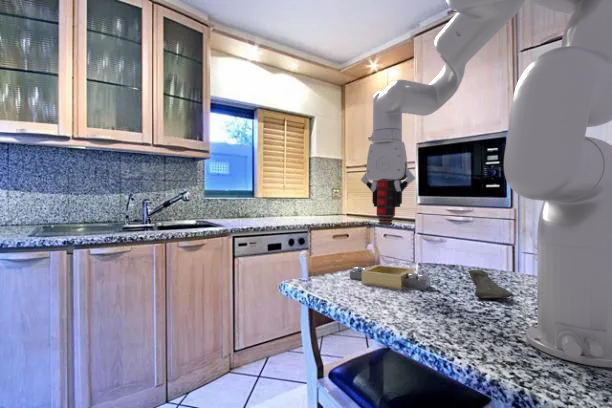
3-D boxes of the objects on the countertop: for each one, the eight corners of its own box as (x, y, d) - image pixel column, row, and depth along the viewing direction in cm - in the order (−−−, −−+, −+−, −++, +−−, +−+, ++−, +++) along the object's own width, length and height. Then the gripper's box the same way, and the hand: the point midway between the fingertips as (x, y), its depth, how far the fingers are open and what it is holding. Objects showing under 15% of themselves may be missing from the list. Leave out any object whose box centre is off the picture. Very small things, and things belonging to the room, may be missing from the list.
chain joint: (422, 293, 77) (422, 278, 77) (344, 282, 89) (344, 269, 89) (433, 284, 86) (433, 271, 86) (361, 275, 98) (361, 263, 98)
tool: (516, 303, 70) (515, 289, 70) (476, 302, 72) (476, 289, 72) (487, 275, 90) (486, 264, 90) (456, 275, 92) (456, 264, 92)
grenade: (370, 223, 91) (372, 169, 90) (386, 223, 92) (387, 169, 91) (381, 226, 84) (383, 167, 84) (398, 225, 86) (400, 168, 85)
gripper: (352, 139, 89) (351, 206, 89) (415, 132, 80) (415, 207, 80) (363, 143, 95) (363, 206, 96) (423, 137, 86) (423, 206, 86)
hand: (386, 206), depth 88 cm, fingers closed on grenade, 4 cm apart
